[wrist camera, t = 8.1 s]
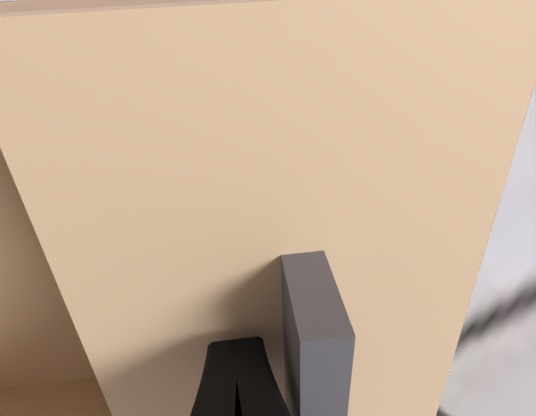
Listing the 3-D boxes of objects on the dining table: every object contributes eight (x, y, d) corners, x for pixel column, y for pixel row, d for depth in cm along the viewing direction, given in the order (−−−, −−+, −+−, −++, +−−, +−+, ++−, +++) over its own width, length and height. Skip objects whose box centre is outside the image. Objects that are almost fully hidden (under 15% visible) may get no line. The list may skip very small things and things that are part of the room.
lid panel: (412, 457, 16) (450, 554, 14) (154, 493, 16) (141, 603, 13) (541, -19, 8) (715, -2, 5) (-34, 14, 7) (-187, 55, 4)
